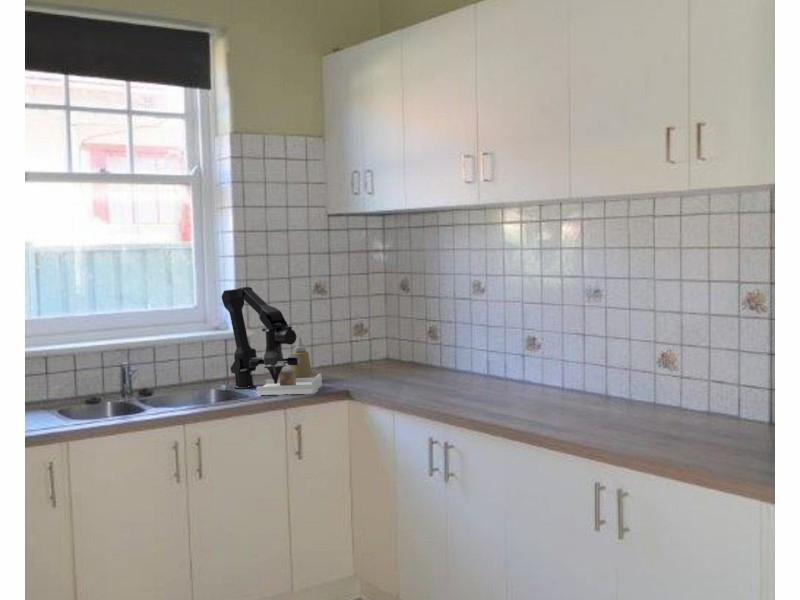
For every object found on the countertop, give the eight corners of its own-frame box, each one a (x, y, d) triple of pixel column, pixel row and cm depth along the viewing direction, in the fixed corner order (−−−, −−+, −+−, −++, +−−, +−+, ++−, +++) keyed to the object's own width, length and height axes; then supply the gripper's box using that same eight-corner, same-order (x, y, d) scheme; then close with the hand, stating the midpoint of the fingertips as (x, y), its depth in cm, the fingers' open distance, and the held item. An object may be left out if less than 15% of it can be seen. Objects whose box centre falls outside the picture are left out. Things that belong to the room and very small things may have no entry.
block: (280, 387, 330) (279, 374, 329) (283, 385, 335) (282, 372, 334) (293, 387, 329) (292, 374, 329) (296, 384, 334) (295, 371, 334)
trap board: (257, 396, 325) (256, 383, 325) (266, 388, 341) (265, 375, 340) (315, 394, 323) (314, 380, 323) (322, 386, 339) (321, 373, 339)
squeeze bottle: (310, 383, 347) (308, 338, 346) (290, 384, 347) (288, 339, 346) (313, 379, 355) (310, 336, 354) (293, 380, 356) (291, 337, 354)
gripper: (244, 346, 324) (246, 388, 325) (293, 345, 322) (295, 386, 323) (251, 342, 335) (254, 382, 336) (299, 341, 333) (301, 381, 334)
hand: (276, 383), depth 332 cm, fingers closed
